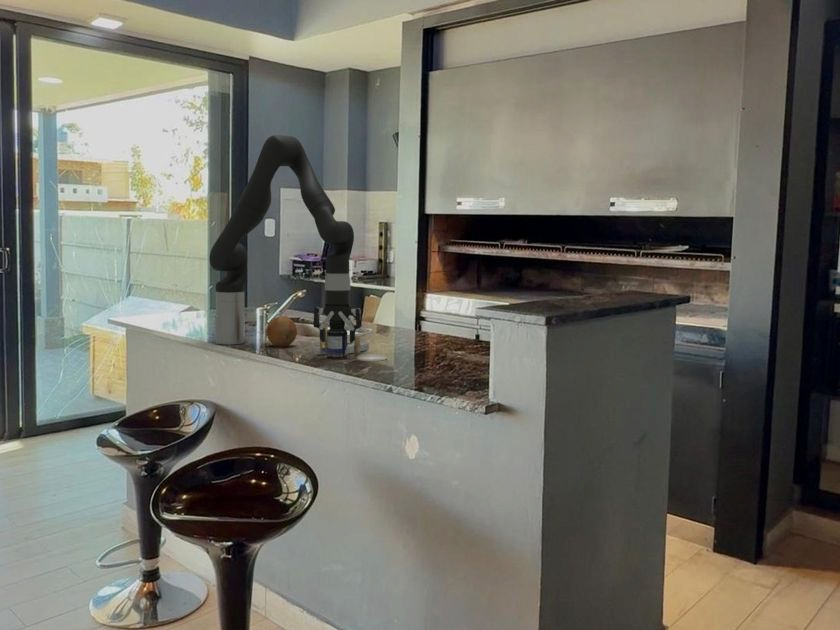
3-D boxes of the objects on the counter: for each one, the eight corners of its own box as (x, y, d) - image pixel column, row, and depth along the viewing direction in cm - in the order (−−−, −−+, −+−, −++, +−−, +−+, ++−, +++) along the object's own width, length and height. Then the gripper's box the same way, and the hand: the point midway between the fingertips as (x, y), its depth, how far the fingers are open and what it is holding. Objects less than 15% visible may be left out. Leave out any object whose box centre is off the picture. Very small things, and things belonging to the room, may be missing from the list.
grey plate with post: (340, 345, 253) (340, 317, 252) (368, 349, 246) (369, 320, 245) (302, 352, 239) (302, 322, 238) (331, 356, 232) (331, 326, 231)
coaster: (358, 361, 226) (358, 359, 226) (355, 356, 235) (355, 354, 235) (388, 361, 227) (388, 359, 227) (385, 356, 236) (385, 354, 236)
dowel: (354, 356, 235) (354, 336, 234) (353, 355, 236) (354, 336, 236) (360, 356, 235) (360, 336, 234) (359, 355, 237) (359, 336, 236)
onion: (285, 343, 258) (285, 313, 257) (303, 346, 251) (303, 316, 250) (260, 346, 251) (260, 315, 250) (278, 349, 244) (278, 318, 243)
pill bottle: (337, 355, 236) (337, 319, 235) (351, 357, 232) (351, 321, 231) (322, 357, 231) (322, 321, 230) (336, 360, 227) (337, 323, 226)
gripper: (311, 288, 226) (311, 343, 228) (358, 289, 225) (358, 344, 226) (317, 287, 233) (317, 340, 235) (363, 288, 232) (363, 341, 234)
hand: (337, 342), depth 231 cm, fingers open, 8 cm apart
